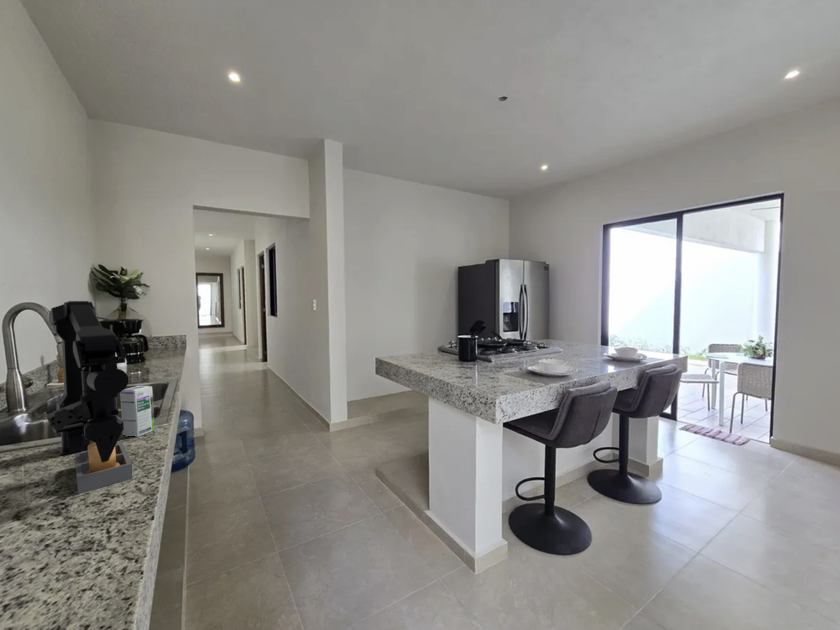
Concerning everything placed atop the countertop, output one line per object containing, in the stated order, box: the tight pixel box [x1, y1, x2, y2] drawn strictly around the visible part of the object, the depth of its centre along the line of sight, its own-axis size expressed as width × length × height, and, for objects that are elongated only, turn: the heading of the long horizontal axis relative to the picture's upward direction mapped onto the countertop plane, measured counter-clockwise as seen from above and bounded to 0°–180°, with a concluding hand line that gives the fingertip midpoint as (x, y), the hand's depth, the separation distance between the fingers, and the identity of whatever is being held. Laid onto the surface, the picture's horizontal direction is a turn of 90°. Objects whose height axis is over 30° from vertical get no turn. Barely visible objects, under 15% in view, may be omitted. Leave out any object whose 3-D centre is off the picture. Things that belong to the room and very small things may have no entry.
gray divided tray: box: [74, 442, 133, 495], centre depth 85 cm, size 17×9×6 cm, turn 45°
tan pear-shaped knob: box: [86, 444, 120, 474], centre depth 82 cm, size 6×6×7 cm
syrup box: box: [119, 384, 156, 438], centre depth 110 cm, size 6×6×14 cm
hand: (103, 455), depth 82 cm, fingers open, 9 cm apart
